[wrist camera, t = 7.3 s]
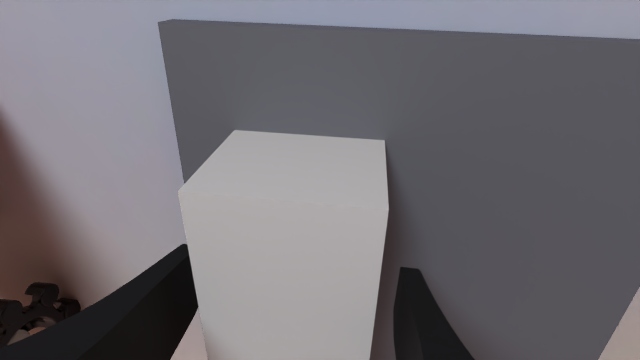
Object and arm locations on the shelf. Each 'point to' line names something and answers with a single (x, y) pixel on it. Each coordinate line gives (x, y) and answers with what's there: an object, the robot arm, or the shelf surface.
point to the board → (453, 162)
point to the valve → (34, 312)
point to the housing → (287, 245)
